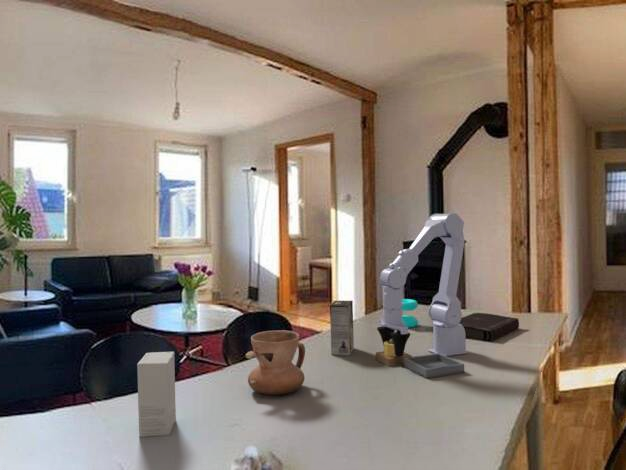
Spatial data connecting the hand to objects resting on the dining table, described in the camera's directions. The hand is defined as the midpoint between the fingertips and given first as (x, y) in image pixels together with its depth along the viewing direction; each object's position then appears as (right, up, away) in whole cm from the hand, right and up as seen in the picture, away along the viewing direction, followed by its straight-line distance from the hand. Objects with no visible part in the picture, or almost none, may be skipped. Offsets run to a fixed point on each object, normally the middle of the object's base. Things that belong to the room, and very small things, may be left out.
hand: (393, 352), depth 152 cm
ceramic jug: (-33, -4, -22) cm, 40 cm away
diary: (+38, -1, +34) cm, 51 cm away
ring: (0, 0, 0) cm, 0 cm away
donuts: (+12, -1, +47) cm, 48 cm away
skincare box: (-57, -6, -44) cm, 73 cm away
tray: (+10, -3, -9) cm, 14 cm away
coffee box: (-15, -3, +12) cm, 19 cm away
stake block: (0, -2, 0) cm, 2 cm away
